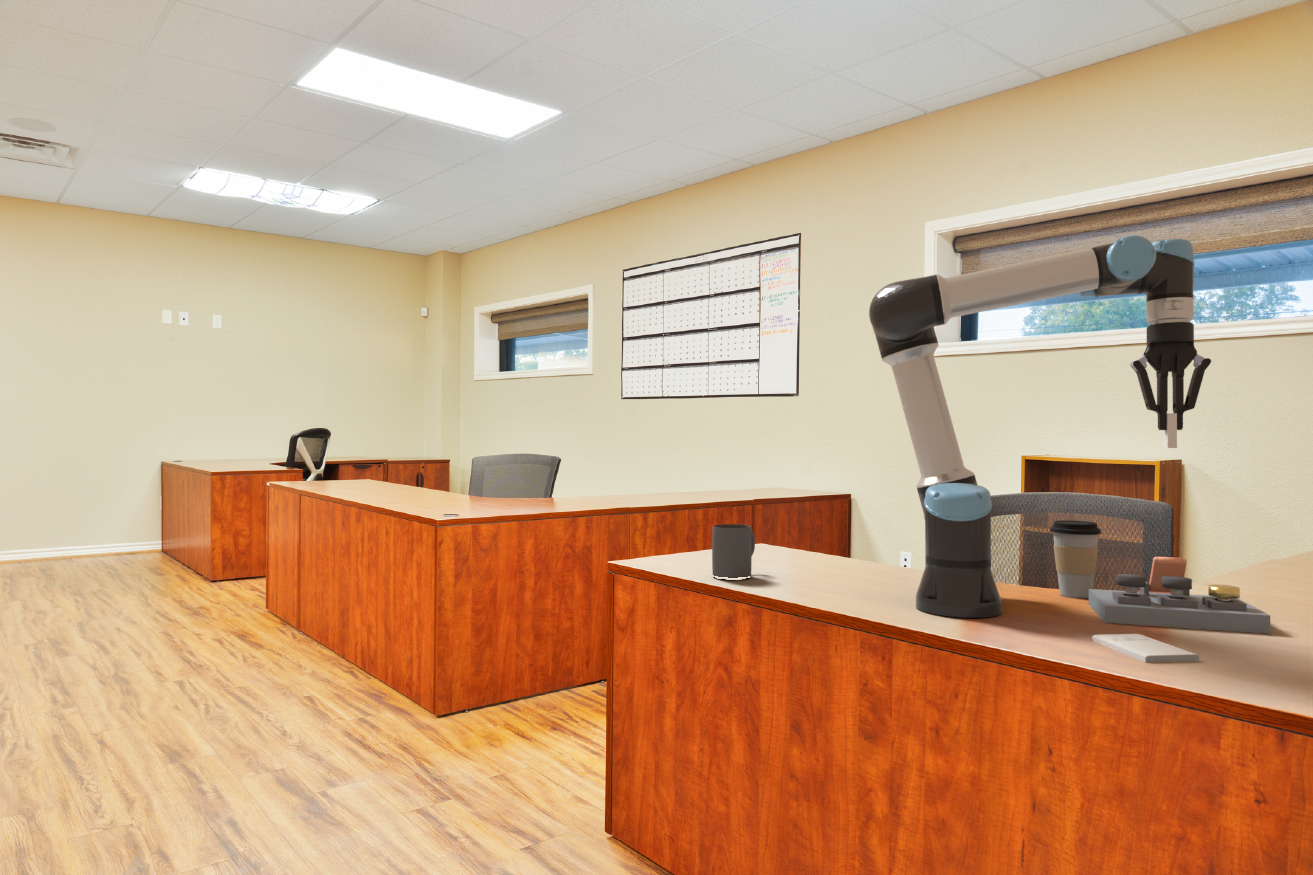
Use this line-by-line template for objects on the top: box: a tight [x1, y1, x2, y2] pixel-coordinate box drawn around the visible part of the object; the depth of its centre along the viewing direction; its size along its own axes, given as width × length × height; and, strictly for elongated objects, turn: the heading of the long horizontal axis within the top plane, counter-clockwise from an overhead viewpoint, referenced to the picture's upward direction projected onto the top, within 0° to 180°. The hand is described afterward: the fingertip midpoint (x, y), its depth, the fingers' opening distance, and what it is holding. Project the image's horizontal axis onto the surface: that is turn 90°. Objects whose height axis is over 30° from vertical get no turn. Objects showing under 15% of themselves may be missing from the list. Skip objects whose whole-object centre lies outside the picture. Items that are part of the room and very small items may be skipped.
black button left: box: [1116, 573, 1147, 593], centre depth 141 cm, size 4×4×3 cm
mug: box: [711, 523, 756, 578], centre depth 185 cm, size 14×9×12 cm
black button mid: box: [1162, 576, 1193, 596], centre depth 138 cm, size 4×4×3 cm
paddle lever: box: [1148, 556, 1187, 593], centre depth 144 cm, size 5×1×8 cm, turn 70°
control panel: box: [1088, 581, 1271, 635], centre depth 141 cm, size 24×16×5 cm, turn 70°
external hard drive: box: [1091, 633, 1200, 663], centre depth 120 cm, size 2×8×12 cm
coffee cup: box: [1049, 519, 1102, 599], centre depth 162 cm, size 9×9×15 cm
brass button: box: [1207, 584, 1241, 602], centre depth 136 cm, size 4×4×3 cm
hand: (1170, 447), depth 149 cm, fingers closed
